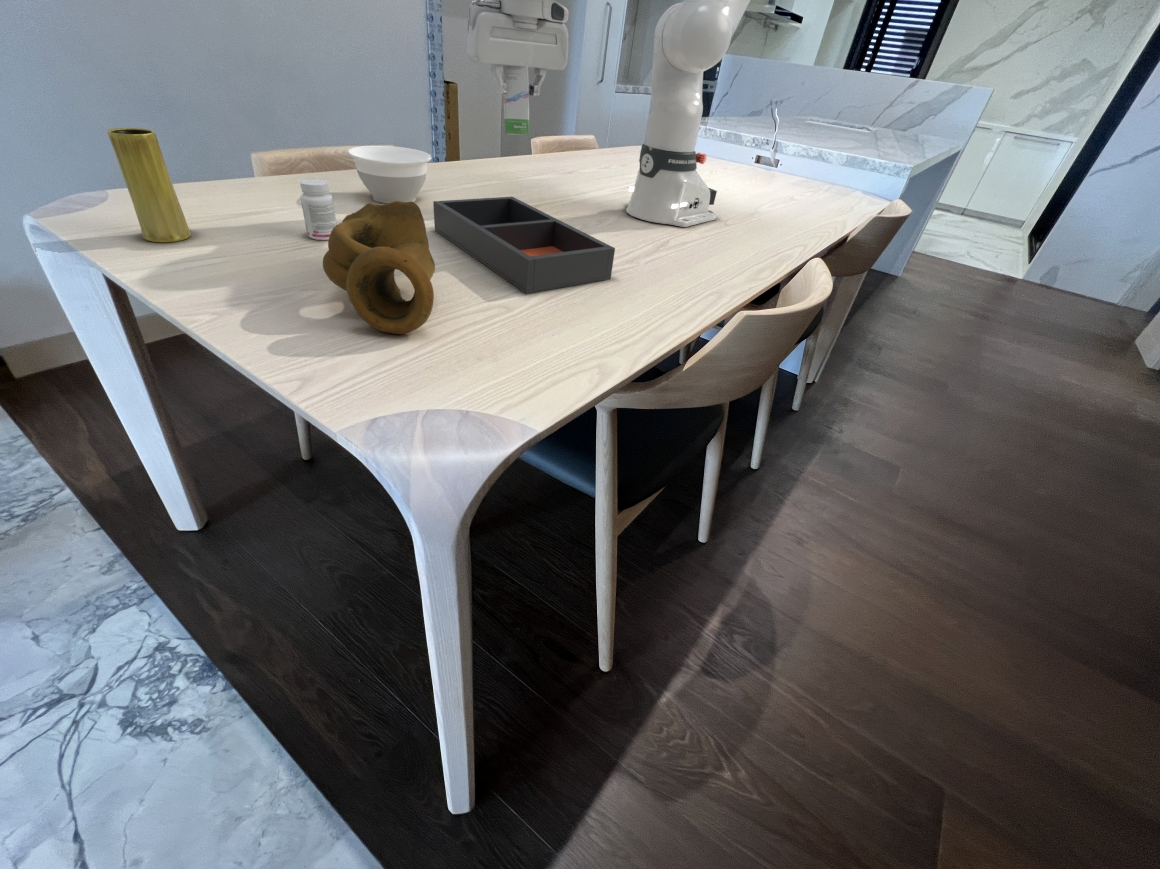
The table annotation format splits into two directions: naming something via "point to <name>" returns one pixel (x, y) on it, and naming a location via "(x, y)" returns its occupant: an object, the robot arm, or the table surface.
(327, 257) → the brown looped sculpture
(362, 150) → the bowl
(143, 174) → the vase
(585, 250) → the organiser
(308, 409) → the table surface
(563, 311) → the table surface
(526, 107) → the ink box
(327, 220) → the pill bottle
